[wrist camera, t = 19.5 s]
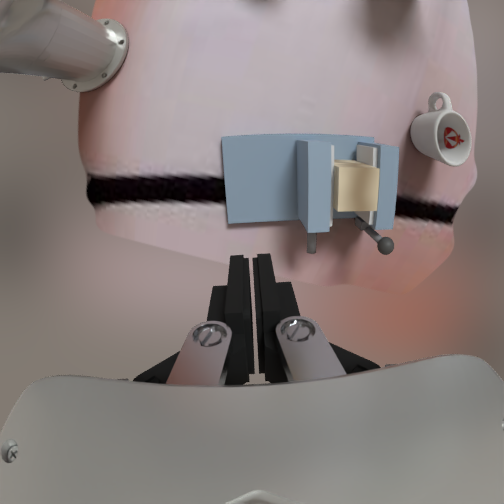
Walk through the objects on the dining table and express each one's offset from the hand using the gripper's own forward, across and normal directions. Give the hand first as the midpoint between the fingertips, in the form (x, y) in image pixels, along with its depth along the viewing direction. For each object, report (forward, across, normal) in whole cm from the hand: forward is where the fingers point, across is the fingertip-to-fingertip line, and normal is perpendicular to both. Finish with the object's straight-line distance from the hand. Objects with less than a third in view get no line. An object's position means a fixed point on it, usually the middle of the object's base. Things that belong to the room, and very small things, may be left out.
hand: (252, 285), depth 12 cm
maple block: (+26, -12, 0) cm, 29 cm away
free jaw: (+26, -8, +2) cm, 27 cm away
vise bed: (+27, -8, +1) cm, 28 cm away
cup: (+27, -28, -9) cm, 40 cm away
